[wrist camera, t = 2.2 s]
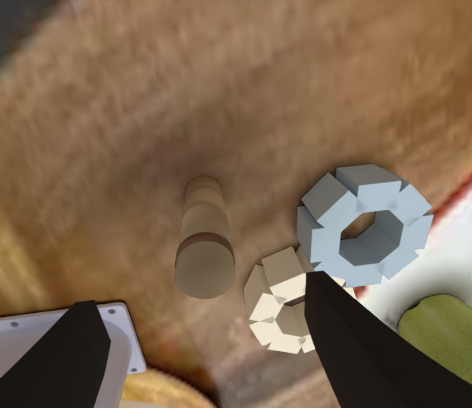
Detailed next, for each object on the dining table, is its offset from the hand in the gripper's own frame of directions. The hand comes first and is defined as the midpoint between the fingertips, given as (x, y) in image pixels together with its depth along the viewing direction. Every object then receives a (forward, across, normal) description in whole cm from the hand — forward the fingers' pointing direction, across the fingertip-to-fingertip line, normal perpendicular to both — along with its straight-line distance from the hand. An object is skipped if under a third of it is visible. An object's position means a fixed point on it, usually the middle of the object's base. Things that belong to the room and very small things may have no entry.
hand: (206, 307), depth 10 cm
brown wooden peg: (+10, 0, 0) cm, 10 cm away
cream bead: (+10, -6, +9) cm, 14 cm away
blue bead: (+10, -10, +3) cm, 14 cm away
